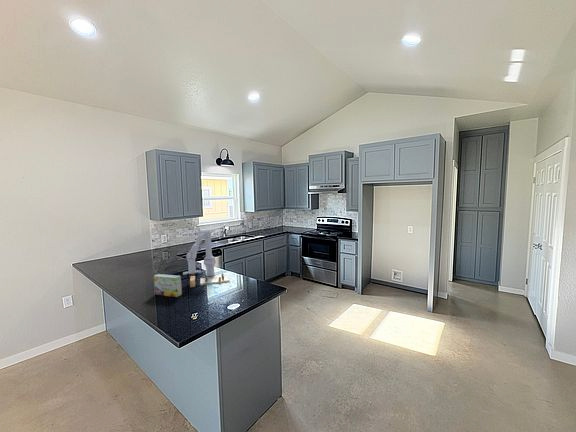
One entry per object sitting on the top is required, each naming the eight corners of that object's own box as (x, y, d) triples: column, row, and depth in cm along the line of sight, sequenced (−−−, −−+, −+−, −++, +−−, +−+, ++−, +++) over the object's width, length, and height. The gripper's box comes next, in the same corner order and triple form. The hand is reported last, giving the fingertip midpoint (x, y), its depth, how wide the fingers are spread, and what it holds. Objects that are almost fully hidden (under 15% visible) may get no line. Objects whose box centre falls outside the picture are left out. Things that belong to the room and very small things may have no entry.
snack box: (154, 295, 200) (153, 275, 199) (160, 292, 206) (158, 273, 204) (177, 297, 194) (176, 277, 193) (182, 294, 199) (181, 275, 198)
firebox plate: (200, 279, 233) (200, 274, 233) (227, 276, 241) (227, 271, 241) (200, 285, 218) (199, 280, 218) (229, 281, 226) (229, 276, 225)
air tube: (190, 280, 232) (190, 276, 232) (195, 280, 233) (195, 275, 233) (190, 287, 215) (189, 282, 215) (195, 286, 216) (194, 281, 216)
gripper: (182, 268, 217) (183, 284, 218) (200, 266, 221) (201, 282, 222) (183, 266, 224) (184, 282, 225) (200, 264, 228) (201, 279, 229)
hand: (192, 282), depth 224 cm, fingers closed on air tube, 4 cm apart
